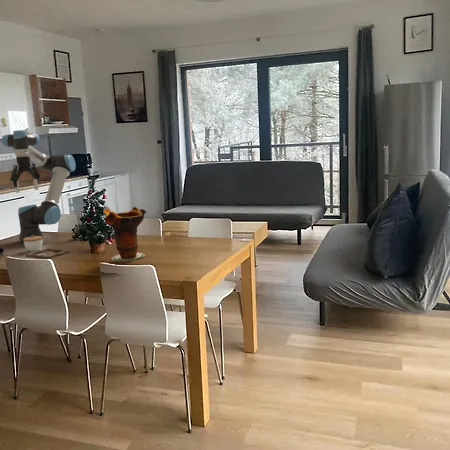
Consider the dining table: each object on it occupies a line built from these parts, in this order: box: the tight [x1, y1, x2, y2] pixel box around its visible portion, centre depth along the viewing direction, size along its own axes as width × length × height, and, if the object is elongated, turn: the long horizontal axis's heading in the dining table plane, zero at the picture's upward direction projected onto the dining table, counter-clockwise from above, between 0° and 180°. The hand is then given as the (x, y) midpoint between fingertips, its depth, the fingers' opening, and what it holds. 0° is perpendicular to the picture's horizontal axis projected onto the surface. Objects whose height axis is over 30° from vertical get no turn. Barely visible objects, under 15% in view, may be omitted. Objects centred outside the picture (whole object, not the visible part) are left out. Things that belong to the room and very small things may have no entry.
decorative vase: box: [103, 206, 147, 262], centre depth 266 cm, size 21×23×28 cm
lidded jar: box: [23, 235, 44, 253], centre depth 296 cm, size 11×11×9 cm
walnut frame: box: [25, 247, 70, 260], centre depth 285 cm, size 16×18×1 cm
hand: (27, 191), depth 302 cm, fingers open, 13 cm apart
